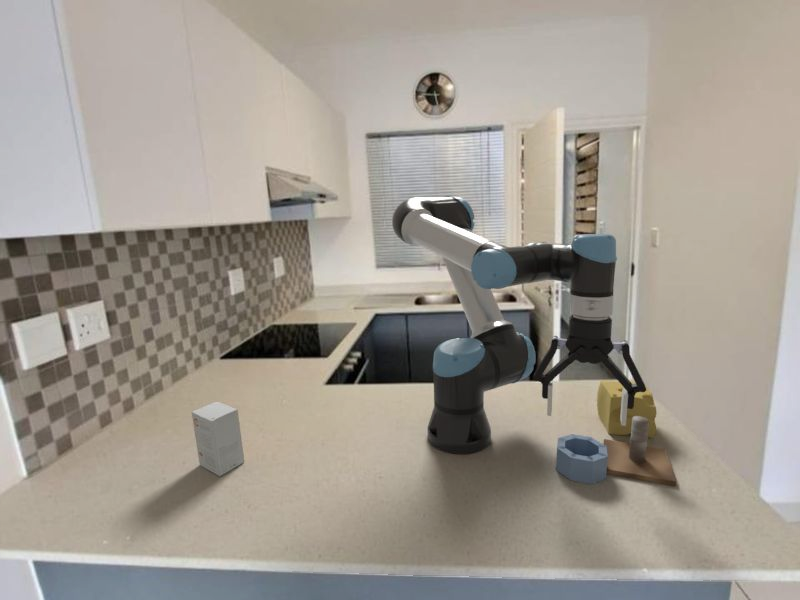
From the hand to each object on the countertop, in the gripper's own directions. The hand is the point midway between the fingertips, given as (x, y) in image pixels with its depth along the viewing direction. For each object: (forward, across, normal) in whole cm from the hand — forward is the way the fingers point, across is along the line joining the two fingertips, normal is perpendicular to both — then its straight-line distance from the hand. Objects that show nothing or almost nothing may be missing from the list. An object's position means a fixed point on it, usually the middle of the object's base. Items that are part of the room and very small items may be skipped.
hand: (585, 417), depth 85 cm
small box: (+11, -74, -24) cm, 79 cm away
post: (+12, +11, +6) cm, 17 cm away
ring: (+12, 0, 0) cm, 12 cm away
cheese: (+12, +10, +22) cm, 27 cm away
